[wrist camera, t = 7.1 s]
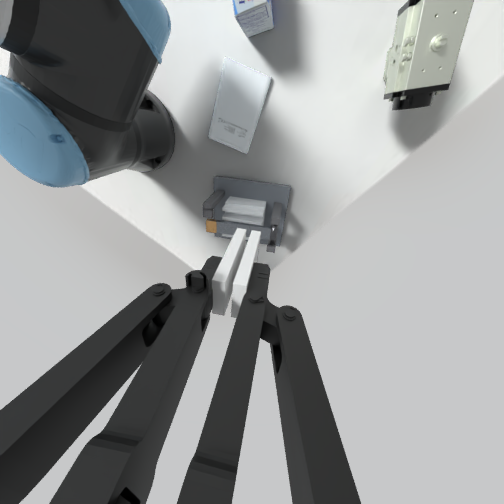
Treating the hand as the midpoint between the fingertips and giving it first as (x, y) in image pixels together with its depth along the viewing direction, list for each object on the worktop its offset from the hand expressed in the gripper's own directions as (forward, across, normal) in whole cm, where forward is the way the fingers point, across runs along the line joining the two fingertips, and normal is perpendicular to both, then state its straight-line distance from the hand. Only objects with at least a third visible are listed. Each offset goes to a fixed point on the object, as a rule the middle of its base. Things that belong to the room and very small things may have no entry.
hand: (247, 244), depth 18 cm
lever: (+22, -4, -10) cm, 24 cm away
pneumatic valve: (+31, +16, +17) cm, 39 cm away
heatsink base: (+30, -4, -10) cm, 32 cm away
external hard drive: (+31, -8, +9) cm, 34 cm away
